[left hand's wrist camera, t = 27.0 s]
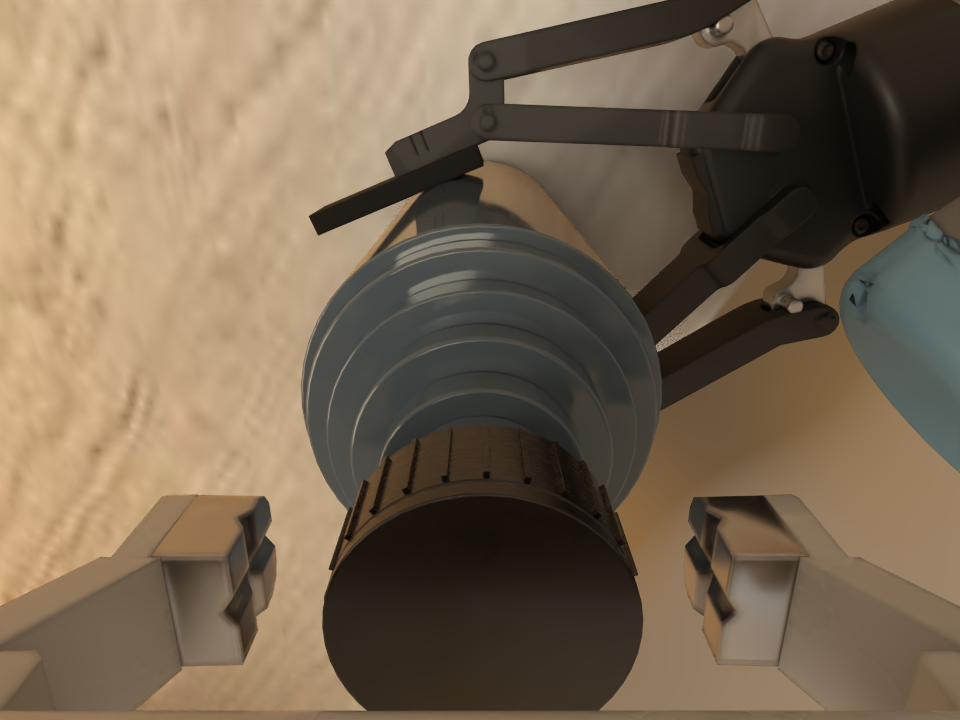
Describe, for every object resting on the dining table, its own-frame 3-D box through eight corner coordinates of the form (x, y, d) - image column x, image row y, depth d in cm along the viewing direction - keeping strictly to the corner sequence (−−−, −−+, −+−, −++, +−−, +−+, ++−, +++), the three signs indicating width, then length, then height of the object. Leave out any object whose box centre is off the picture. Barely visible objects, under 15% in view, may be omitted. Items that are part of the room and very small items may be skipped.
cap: (309, 452, 10) (271, 528, 8) (594, 392, 9) (620, 457, 8) (388, 670, 11) (369, 776, 9) (637, 625, 11) (668, 726, 9)
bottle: (383, 173, 32) (97, 359, 8) (555, 148, 31) (788, 263, 8) (413, 336, 34) (267, 827, 11) (571, 315, 34) (779, 777, 10)
